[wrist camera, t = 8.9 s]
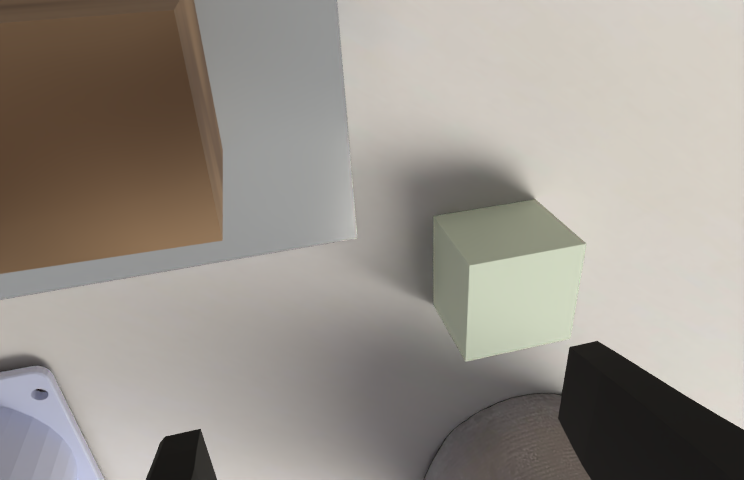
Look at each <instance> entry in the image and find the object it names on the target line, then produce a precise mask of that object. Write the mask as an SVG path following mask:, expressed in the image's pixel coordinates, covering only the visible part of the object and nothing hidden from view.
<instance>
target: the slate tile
mask: <svg viewBox="0 0 744 480" xmlns="http://www.w3.org/2000/svg"><path fill="white" fill-rule="evenodd" d="M194 3H195V8H196V13H197V19H198V24H199V29H200V34H201V39H202V45H203V50H204V55H205V60H206V65H207V70H208V76H209V81H210V86H211V91H212V96H213V102H214V107H215V112H216V117H217V122H218V128H219V133H220V138H221V143H222V148H223V241H217V242H210V243H204V244H197V245H190V246H184V247H177V248H170V249H164V250H157V251H150V252H144V253H137V254H130V255H124V256H117V257H110V258H104V259H97V260H90V261H84V262H77V263H70V264H64V265H57V266H50V267H44V268H37V269H30V270H24V271H17V272H10V273H4V274H0V300H2V299H8V298H14V297H20V296H26V295H31V294H37V293H43V292H49V291H55V290H61V289H66V288H72V287H78V286H84V285H90V284H95V283H101V282H107V281H113V280H119V279H124V278H130V277H136V276H142V275H148V274H154V273H159V272H165V271H171V270H177V269H183V268H188V267H194V266H200V265H206V264H212V263H217V262H223V261H229V260H235V259H241V258H247V257H252V256H258V255H264V254H270V253H276V252H281V251H287V250H293V249H299V248H305V247H310V246H316V245H322V244H328V243H334V242H340V241H345V240H351V239H357V227H356V216H355V204H354V193H353V181H352V169H351V158H350V146H349V134H348V123H347V111H346V100H345V88H344V76H343V65H342V53H341V41H340V30H339V18H338V7H337V0H194Z"/></svg>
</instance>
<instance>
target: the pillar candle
mask: <svg viewBox="0 0 744 480" xmlns="http://www.w3.org/2000/svg"><path fill="white" fill-rule="evenodd" d="M560 403H561V395H558V394H544V393H543V394H531V395H525V396H521V397H515V398H511V399H508V400H505V401H503V402H500V403H497V404H495V405H493V406H491V407H489V408H487V409H484V410H481V411H480V412H478V413H476V414H474V415H473V416H471V417H470V418H469V419H468V420H467V421H465V422H463V423H461V424H460V425H459V426H457V427H456V428H455V429H454V430H453V431H452V432H451V433H450V434H449V435H448V437H447V438H446V439H445V441H444V443H443V444H442V446H441V448H440V450H439V451H438V453H437V455H436V456H435V458H434V460H433V461H432V463H431V466H430V468H429V470H428V472H427V474H426V476H425V480H591V478H590V477H589V475H588V474H587V472H586V471H585V469H584V468H583V466H582V464H581V462H580V461H579V459H578V457H577V455H576V453H575V451H574V449H573V447H572V446H571V444H570V442H569V440H568V438H567V436H566V434H565V432H564V430H563V428H562V426H561V424H560V422H559V420H558V415H559V409H560Z"/></svg>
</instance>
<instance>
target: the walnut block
mask: <svg viewBox="0 0 744 480" xmlns="http://www.w3.org/2000/svg"><path fill="white" fill-rule="evenodd" d="M217 241H223V148H222V143H221V138H220V133H219V128H218V122H217V117H216V112H215V107H214V102H213V96H212V91H211V86H210V81H209V76H208V70H207V65H206V60H205V55H204V50H203V45H202V39H201V34H200V29H199V24H198V19H197V13H196V8H195V3H194V0H0V274H4V273H10V272H17V271H24V270H30V269H37V268H44V267H50V266H57V265H64V264H70V263H77V262H84V261H90V260H97V259H104V258H110V257H117V256H124V255H130V254H137V253H144V252H150V251H157V250H164V249H170V248H177V247H184V246H190V245H197V244H204V243H210V242H217Z"/></svg>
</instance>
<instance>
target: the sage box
mask: <svg viewBox="0 0 744 480" xmlns="http://www.w3.org/2000/svg"><path fill="white" fill-rule="evenodd" d="M585 250H586V243H585V242H584V241H583V240H582V239H580V238H579V237H578V236H577V235H576V234H575V233H574V232H572V231H571V230H570V229H569V228H568V227H567V226H565V225H564V224H563V223H562V222H561V221H560V220H559V219H557V218H556V217H555V216H554V215H553V214H552V213H551V212H549V211H548V210H547V209H546V208H545V207H544V206H542V205H541V204H540V203H539V202H538V201H537V200H536V199H534V200H528V201H521V202H515V203H509V204H503V205H497V206H491V207H485V208H479V209H473V210H467V211H461V212H455V213H449V214H443V215H437V216H433V305H434V307H435V309H436V310H437V312H438V314H439V316H440V317H441V319H442V321H443V323H444V325H445V326H446V328H447V330H448V332H449V333H450V335H451V337H452V339H453V341H454V342H455V344H456V346H457V348H458V349H459V351H460V353H461V355H462V357H463V358H464V360H465V362H467V361H472V360H476V359H481V358H485V357H490V356H495V355H499V354H504V353H508V352H513V351H517V350H522V349H527V348H531V347H536V346H540V345H545V344H549V343H554V342H559V341H563V340H568V339H570V338H571V332H572V326H573V320H574V314H575V308H576V302H577V297H578V291H579V285H580V279H581V273H582V267H583V261H584V255H585Z"/></svg>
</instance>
